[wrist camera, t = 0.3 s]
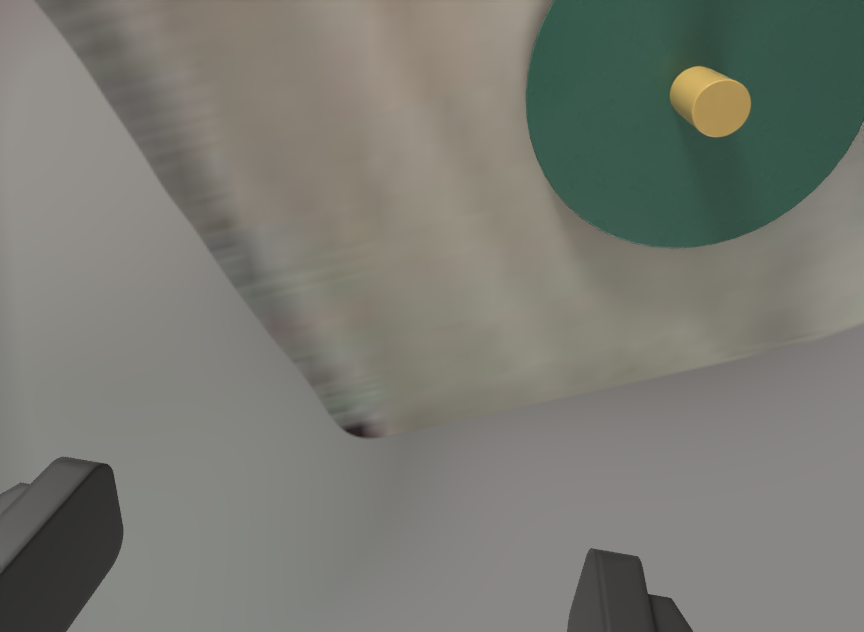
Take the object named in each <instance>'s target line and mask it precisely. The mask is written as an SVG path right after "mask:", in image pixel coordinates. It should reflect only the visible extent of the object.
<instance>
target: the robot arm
mask: <svg viewBox="0 0 864 632" xmlns="http://www.w3.org/2000/svg"><path fill="white" fill-rule="evenodd" d="M122 540H123V524H122V518H121V513H120V507H119V502H118V496H117V490H116V485H115V479H114V474H113V470H112V468H111V467H110V466H109V465H108V464H104V463H98V462H92V461H87V460H81V459H74V458H69V457H61V458H58V459H56V460H55V461H53V462H52V463H51V464H50V465H49V466H48V467H47V468H46V469H45V470H44V471H43V472H42V473H41V474H40V475H39V476H38V477H37V478H36V479H35V480H34V481H33V482H32V483H31V484H26V483H19V484H18V485H16V486H14V487H12V488H11V489H9V490H7V491H6V492H4V493H2V494H0V632H66V631H67V630H68V628H69V627H70V625H71V624H72V623H73V621H74V619H75V618H76V617H77V615H78V614H79V613H80V611H81V610H82V608H83V607H84V606H85V604H86V603H87V601H88V600H89V599H90V597H91V596H92V594H93V593H94V592H95V590H96V589H97V587H98V586H99V585H100V583H101V582H102V580H103V579H104V578H105V576H106V574H107V573H108V572H109V570H110V569H111V567H112V566H113V564H114V562H115V561H116V559H117V556H118V554H119V551H120V548H121V545H122ZM567 632H693V631H692V629H691V627H690V626H689V624H688V623H687V622H686V620H685V618H684V617H683V615H682V614H681V613H680V611H679V609H678V608H677V606H676V605H675V603H674V602H673V600H672V599H671V598H668V597H661V596H656V595H650V594H648V593H647V588H646V582H645V577H644V572H643V567H642V564H641V561H640V559H639V557H638V556H633V555H627V554H621V553H615V552H609V551H603V550H597V549H592V548H591V549H590V550H589V551H588V553H587V556H586V559H585V563H584V566H583V569H582V573H581V576H580V579H579V583H578V586H577V589H576V593H575V596H574V600H573V603H572V606H571V610H570V614H569V620H568V629H567Z"/></svg>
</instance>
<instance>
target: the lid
mask: <svg viewBox="0 0 864 632" xmlns="http://www.w3.org/2000/svg"><path fill="white" fill-rule="evenodd" d="M526 112H527V122H528V128H529V134H530V139H531V142H532V145H533V148H534V152H535V155H536V158H537V160H538V162H539V164H540V166H541V168H542V171H543V173H544V175H545V177H546V178H547V180H548V181H549V183H550V184H551V186H552V187H553V189H554V190H555V192H556V193H557V194H558V195H559V196H560V198H561V199H562V200H563V201H564V202H565V203H566V205H567V206H568V207H569V208H571V209H572V210H573V211H574V212H575V213H576V214H578V215H579V216H580V217H581V218H582V219H584V220H585V221H587V222H588V223H590V224H591V225H593V226H594V227H596V228H597V229H599V230H601V231H603V232H605V233H607V234H610V235H612V236H614V237H616V238H619V239H622V240H625V241H628V242H631V243H635V244H640V245H645V246H651V247H661V248H690V247H699V246H705V245H711V244H716V243H719V242H723V241H726V240H730V239H734V238H737V237H739V236H742V235H744V234H747V233H749V232H751V231H754V230H756V229H758V228H760V227H762V226H764V225H766V224H768V223H769V222H771V221H773V220H775V219H777V218H778V217H780V216H781V215H783V214H784V213H786V212H787V211H789V210H790V209H792V208H793V207H795V206H796V205H797V204H798V203H799V202H801V201H802V200H803V199H804V198H805V197H807V196H808V195H809V194H810V193H811V192H812V191H814V190H815V189H816V188H817V186H818V185H819V184H820V183H821V182H822V181H823V180H824V179H825V178H826V177H827V176H828V175H829V174H830V173H831V172H832V170H833V169H834V168H835V166H836V165H837V164H838V162H839V161H840V160H841V159H842V157H843V156H844V155H845V153H846V152H847V150H848V148H849V147H850V145H851V143H852V142H853V140H854V138H855V137H856V135H857V134H858V131H859V129H860V127H861V125H862V123H863V121H864V0H554V1H553V2H552V4H551V6H550V8H549V10H548V12H547V14H546V16H545V18H544V20H543V22H542V25H541V27H540V29H539V32H538V35H537V38H536V41H535V44H534V47H533V50H532V55H531V59H530V64H529V69H528V75H527V87H526Z"/></svg>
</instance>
